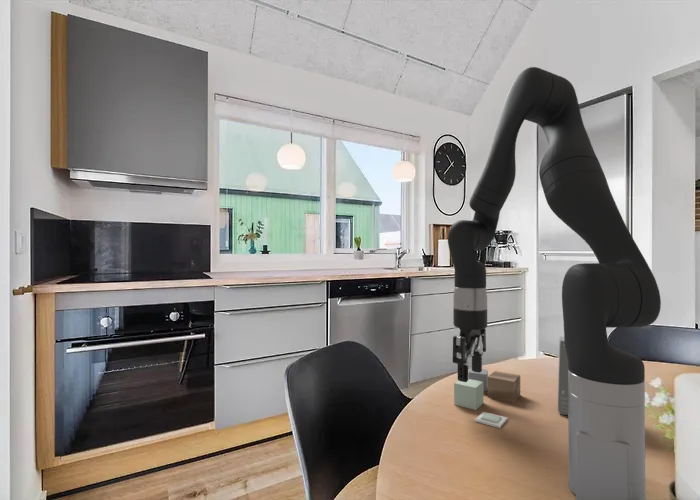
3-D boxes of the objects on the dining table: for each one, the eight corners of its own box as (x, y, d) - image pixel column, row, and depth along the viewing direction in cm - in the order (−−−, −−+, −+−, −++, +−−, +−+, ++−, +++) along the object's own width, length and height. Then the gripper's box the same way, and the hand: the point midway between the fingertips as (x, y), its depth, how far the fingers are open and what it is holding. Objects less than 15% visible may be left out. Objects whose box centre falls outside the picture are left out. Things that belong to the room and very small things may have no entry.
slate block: (486, 392, 97) (486, 374, 97) (468, 389, 99) (468, 372, 99) (487, 386, 101) (487, 369, 101) (470, 384, 103) (470, 367, 103)
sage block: (475, 410, 86) (475, 387, 86) (454, 404, 89) (454, 383, 89) (483, 403, 90) (483, 381, 90) (462, 398, 93) (462, 377, 93)
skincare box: (558, 414, 83) (557, 340, 84) (557, 403, 90) (557, 334, 90) (604, 422, 80) (604, 345, 80) (601, 410, 86) (600, 338, 86)
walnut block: (513, 403, 90) (513, 381, 90) (487, 397, 94) (487, 376, 94) (520, 395, 95) (520, 375, 95) (495, 390, 99) (495, 370, 99)
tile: (499, 428, 77) (499, 424, 77) (475, 421, 80) (475, 418, 80) (507, 419, 81) (507, 416, 81) (483, 413, 84) (483, 410, 84)
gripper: (474, 312, 82) (474, 388, 82) (496, 304, 93) (496, 371, 93) (441, 308, 87) (441, 381, 87) (466, 301, 98) (466, 365, 98)
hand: (470, 376), depth 90 cm, fingers open, 8 cm apart
